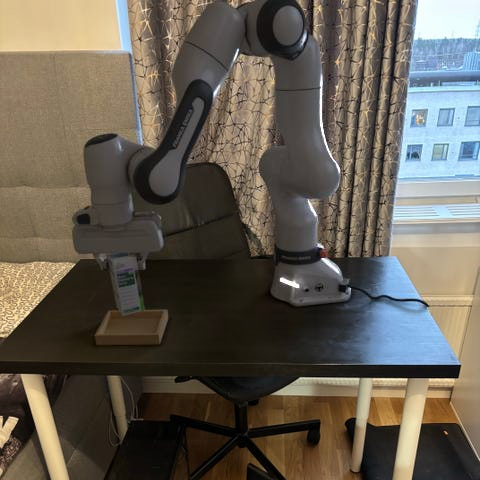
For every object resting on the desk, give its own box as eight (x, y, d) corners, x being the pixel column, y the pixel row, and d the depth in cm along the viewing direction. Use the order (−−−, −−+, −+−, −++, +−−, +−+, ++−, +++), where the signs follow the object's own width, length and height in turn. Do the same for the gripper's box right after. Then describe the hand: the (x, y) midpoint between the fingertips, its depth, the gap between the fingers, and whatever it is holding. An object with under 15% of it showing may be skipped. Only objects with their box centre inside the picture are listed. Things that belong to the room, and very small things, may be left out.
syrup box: (122, 317, 119) (112, 261, 112) (116, 307, 124) (105, 252, 116) (145, 311, 121) (136, 255, 114) (138, 301, 126) (129, 247, 119)
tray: (168, 318, 131) (167, 309, 129) (159, 344, 120) (158, 334, 118) (110, 319, 131) (108, 310, 130) (96, 345, 120) (94, 335, 119)
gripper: (162, 206, 112) (169, 263, 119) (73, 209, 113) (85, 264, 120) (157, 215, 107) (164, 273, 114) (64, 217, 108) (77, 275, 115)
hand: (123, 269), depth 117 cm, fingers closed on syrup box, 7 cm apart
